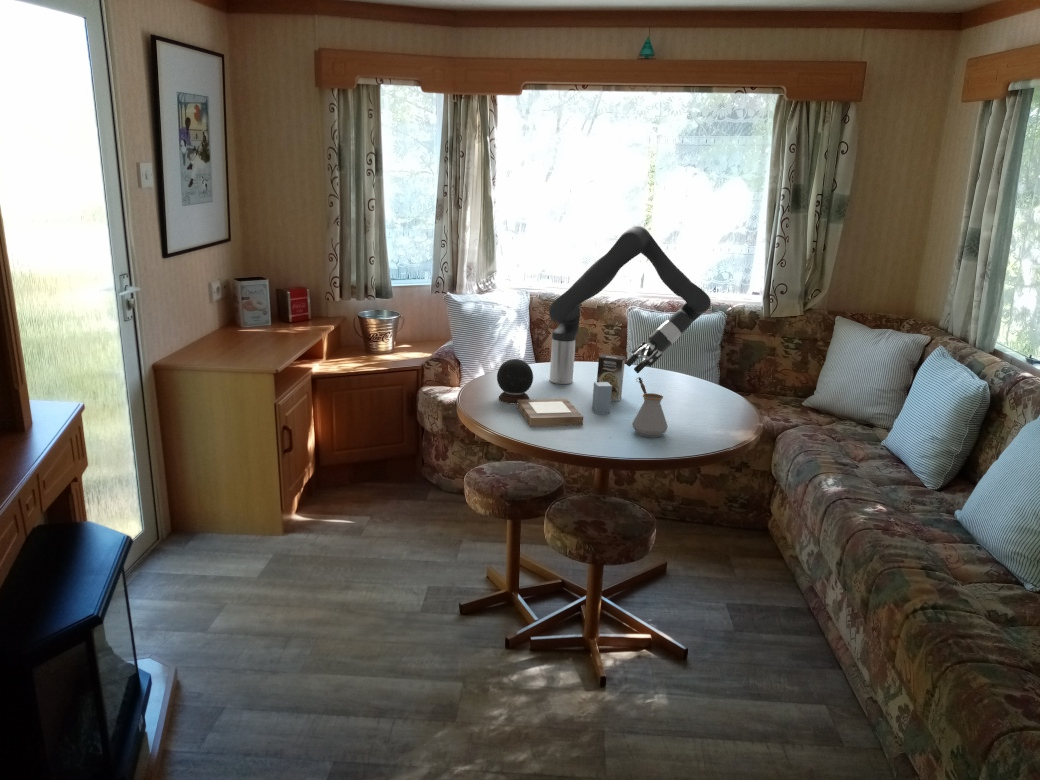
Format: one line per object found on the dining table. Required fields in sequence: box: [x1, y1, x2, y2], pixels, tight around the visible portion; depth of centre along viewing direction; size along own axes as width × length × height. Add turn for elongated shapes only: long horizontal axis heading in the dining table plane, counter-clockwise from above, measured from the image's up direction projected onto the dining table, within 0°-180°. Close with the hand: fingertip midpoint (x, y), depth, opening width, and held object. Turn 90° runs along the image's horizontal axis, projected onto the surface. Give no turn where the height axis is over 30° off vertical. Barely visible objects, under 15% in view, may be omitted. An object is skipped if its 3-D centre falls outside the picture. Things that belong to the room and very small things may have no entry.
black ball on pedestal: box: [496, 358, 534, 404], centre depth 281 cm, size 13×13×15 cm
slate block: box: [591, 381, 612, 415], centre depth 273 cm, size 5×5×10 cm
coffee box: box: [596, 353, 626, 402], centre depth 288 cm, size 9×6×16 cm
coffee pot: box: [631, 376, 668, 438], centre depth 257 cm, size 21×12×15 cm, turn 9°
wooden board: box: [516, 398, 584, 427], centre depth 266 cm, size 20×18×3 cm
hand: (631, 368), depth 272 cm, fingers open, 8 cm apart
